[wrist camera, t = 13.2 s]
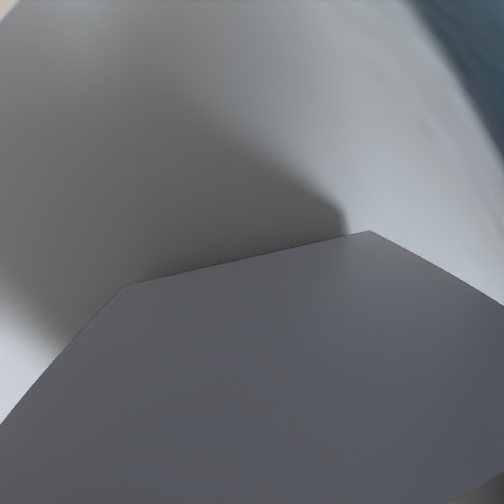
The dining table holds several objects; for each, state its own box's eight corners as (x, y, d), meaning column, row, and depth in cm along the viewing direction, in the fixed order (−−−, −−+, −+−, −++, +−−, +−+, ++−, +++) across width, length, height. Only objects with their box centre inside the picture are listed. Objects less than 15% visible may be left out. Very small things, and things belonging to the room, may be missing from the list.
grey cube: (369, 230, 9) (603, 377, 1) (379, 412, 11) (450, 567, 3) (124, 285, 9) (-42, 482, 1) (198, 448, 11) (177, 613, 3)
